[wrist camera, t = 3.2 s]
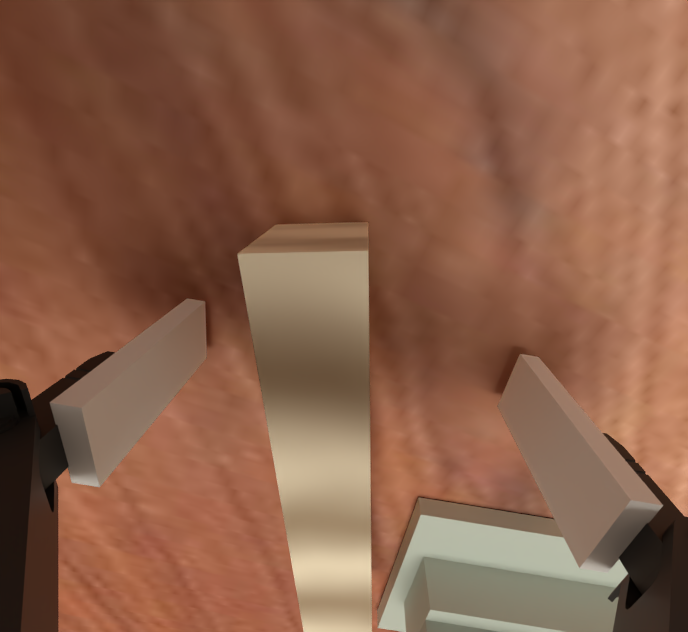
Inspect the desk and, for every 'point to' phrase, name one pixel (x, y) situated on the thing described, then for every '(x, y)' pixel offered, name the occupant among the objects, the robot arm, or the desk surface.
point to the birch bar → (318, 407)
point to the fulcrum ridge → (492, 576)
